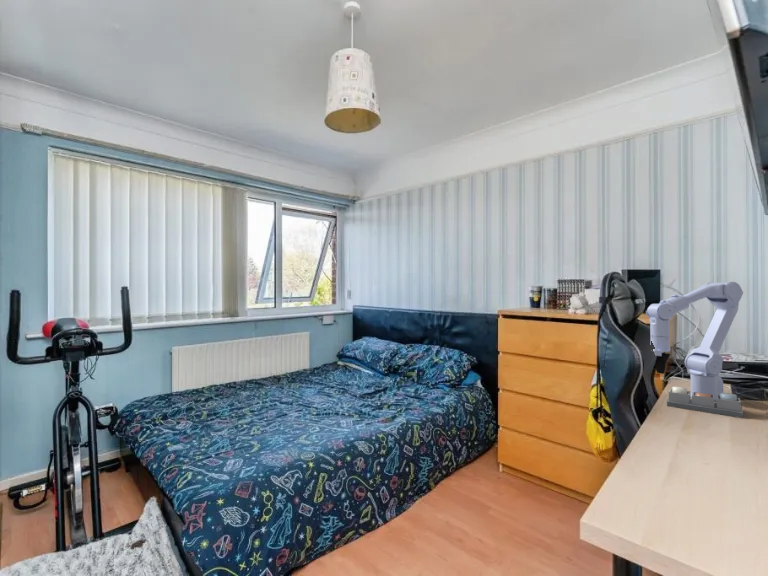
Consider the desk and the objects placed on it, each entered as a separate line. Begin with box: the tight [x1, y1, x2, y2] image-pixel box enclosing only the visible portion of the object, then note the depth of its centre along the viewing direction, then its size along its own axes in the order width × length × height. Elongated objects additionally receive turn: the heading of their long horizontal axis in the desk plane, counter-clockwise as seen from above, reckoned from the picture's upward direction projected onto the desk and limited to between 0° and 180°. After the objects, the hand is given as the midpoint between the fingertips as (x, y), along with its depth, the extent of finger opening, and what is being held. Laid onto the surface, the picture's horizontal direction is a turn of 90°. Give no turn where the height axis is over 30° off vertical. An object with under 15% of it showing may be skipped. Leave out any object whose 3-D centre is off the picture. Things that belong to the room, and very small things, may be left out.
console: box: [666, 388, 744, 419], centre depth 124 cm, size 19×9×4 cm, turn 48°
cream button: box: [671, 386, 688, 394], centre depth 128 cm, size 4×4×3 cm
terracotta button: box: [695, 393, 711, 398], centre depth 124 cm, size 4×4×3 cm
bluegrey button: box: [720, 392, 738, 401], centre depth 120 cm, size 4×4×3 cm
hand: (660, 373), depth 136 cm, fingers closed
